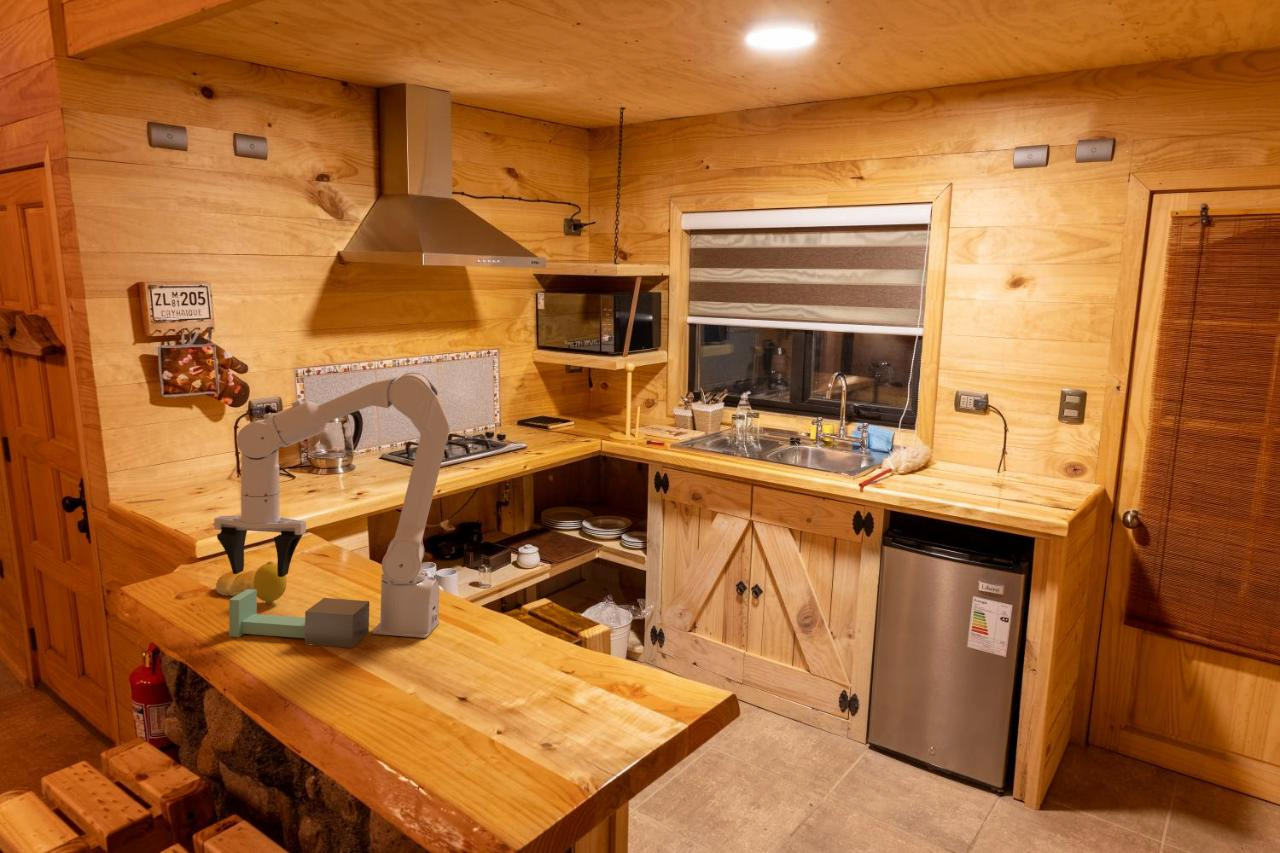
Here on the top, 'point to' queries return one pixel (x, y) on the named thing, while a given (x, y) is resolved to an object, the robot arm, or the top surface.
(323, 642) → the block
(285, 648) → the top surface
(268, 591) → the lemon
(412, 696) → the top surface
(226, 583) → the bread roll
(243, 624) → the handle
